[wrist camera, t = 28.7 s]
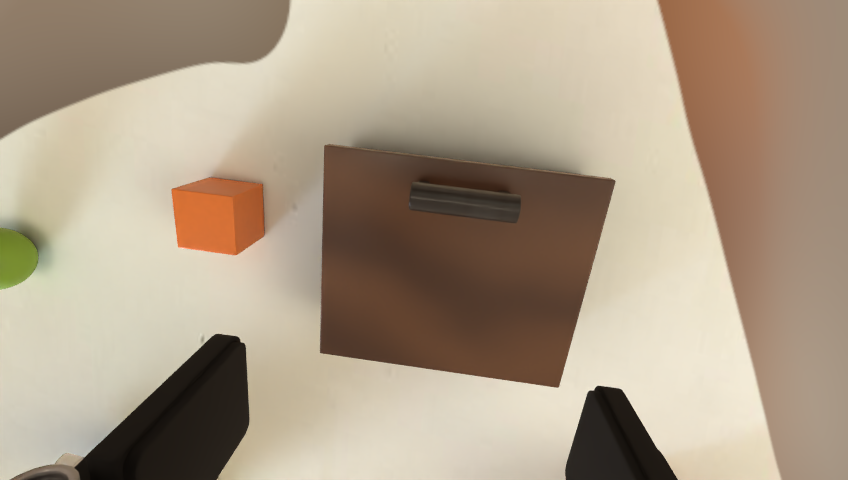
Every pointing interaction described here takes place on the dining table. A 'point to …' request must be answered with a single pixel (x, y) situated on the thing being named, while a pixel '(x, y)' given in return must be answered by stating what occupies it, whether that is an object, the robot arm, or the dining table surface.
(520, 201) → the lid
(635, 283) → the dining table surface
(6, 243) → the snail figurine
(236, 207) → the block
